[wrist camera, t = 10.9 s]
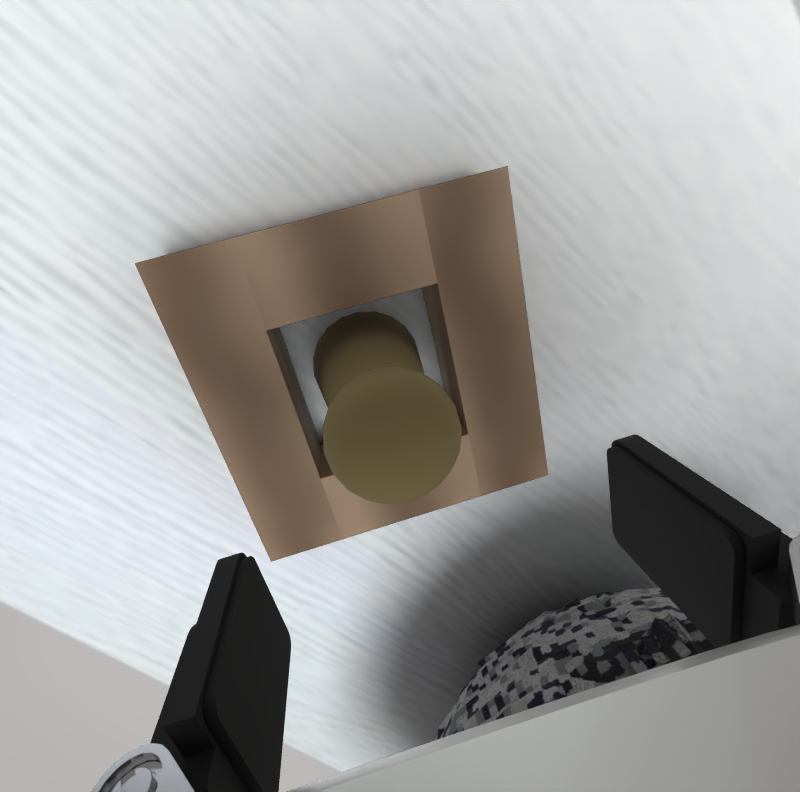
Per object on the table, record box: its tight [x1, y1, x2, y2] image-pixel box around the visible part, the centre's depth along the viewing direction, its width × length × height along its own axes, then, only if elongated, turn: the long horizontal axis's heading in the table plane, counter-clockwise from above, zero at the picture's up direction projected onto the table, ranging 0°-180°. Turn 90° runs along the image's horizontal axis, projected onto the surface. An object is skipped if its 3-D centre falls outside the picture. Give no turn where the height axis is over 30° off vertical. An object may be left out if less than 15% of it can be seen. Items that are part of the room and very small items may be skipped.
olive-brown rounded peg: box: [313, 312, 462, 504], centre depth 20 cm, size 6×6×11 cm
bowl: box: [435, 587, 716, 740], centre depth 30 cm, size 31×31×15 cm
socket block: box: [135, 166, 548, 561], centre depth 24 cm, size 16×16×4 cm
